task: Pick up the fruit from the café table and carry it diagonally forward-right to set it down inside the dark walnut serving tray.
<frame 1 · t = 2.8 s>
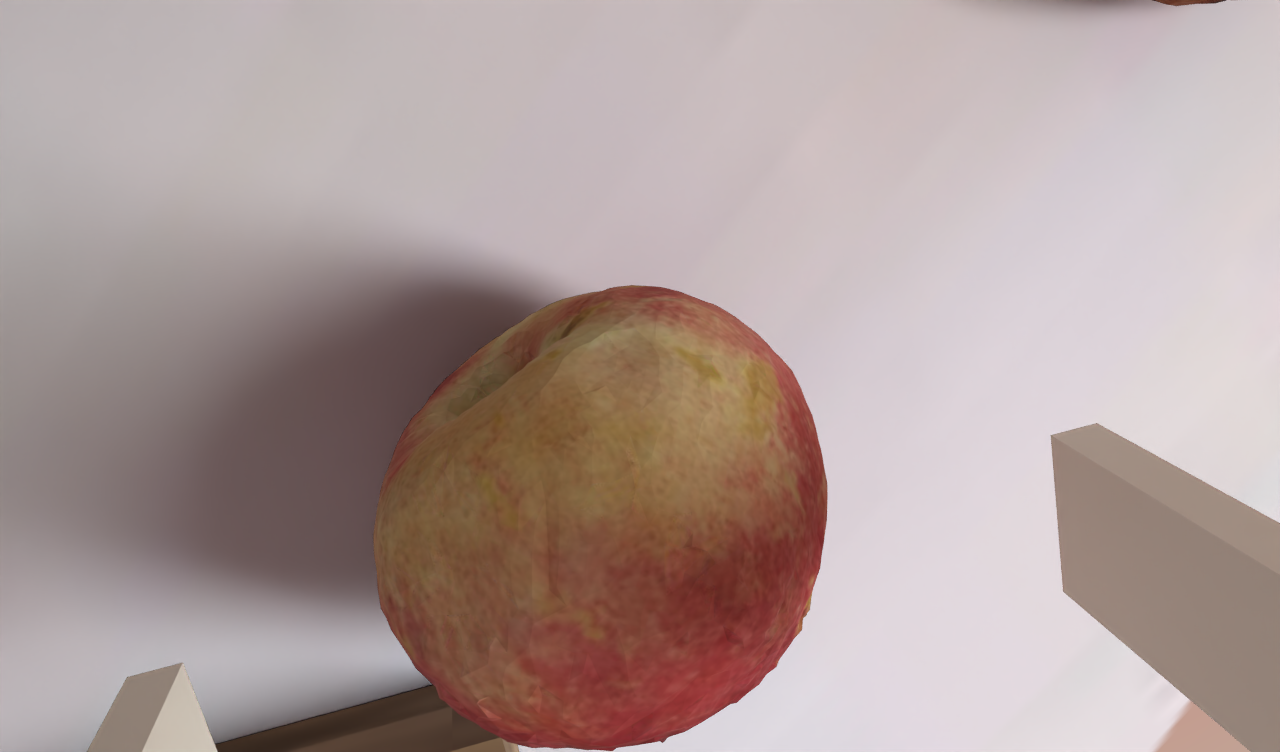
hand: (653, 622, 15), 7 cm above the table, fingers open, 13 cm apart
fruit: (577, 428, 22), on the table
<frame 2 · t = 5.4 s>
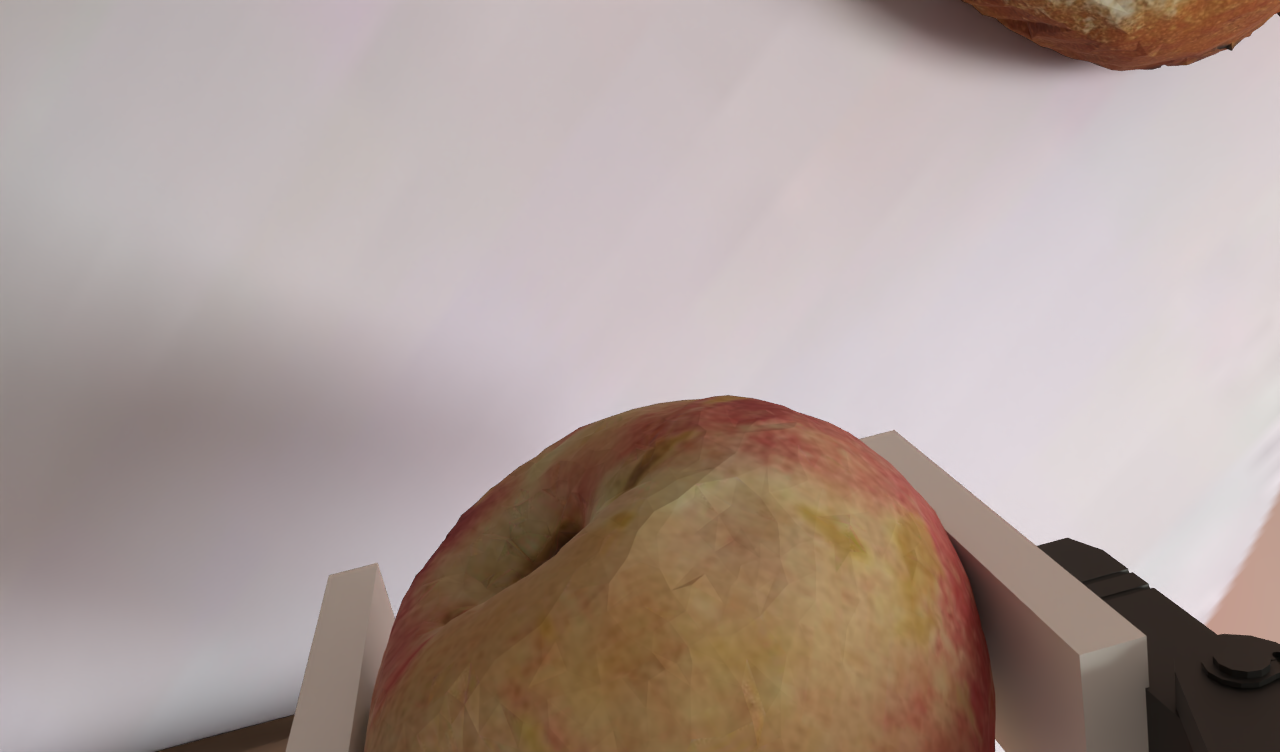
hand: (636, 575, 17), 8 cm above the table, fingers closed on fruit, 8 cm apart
fruit: (628, 557, 17), point 8 cm above the table, touching gripper
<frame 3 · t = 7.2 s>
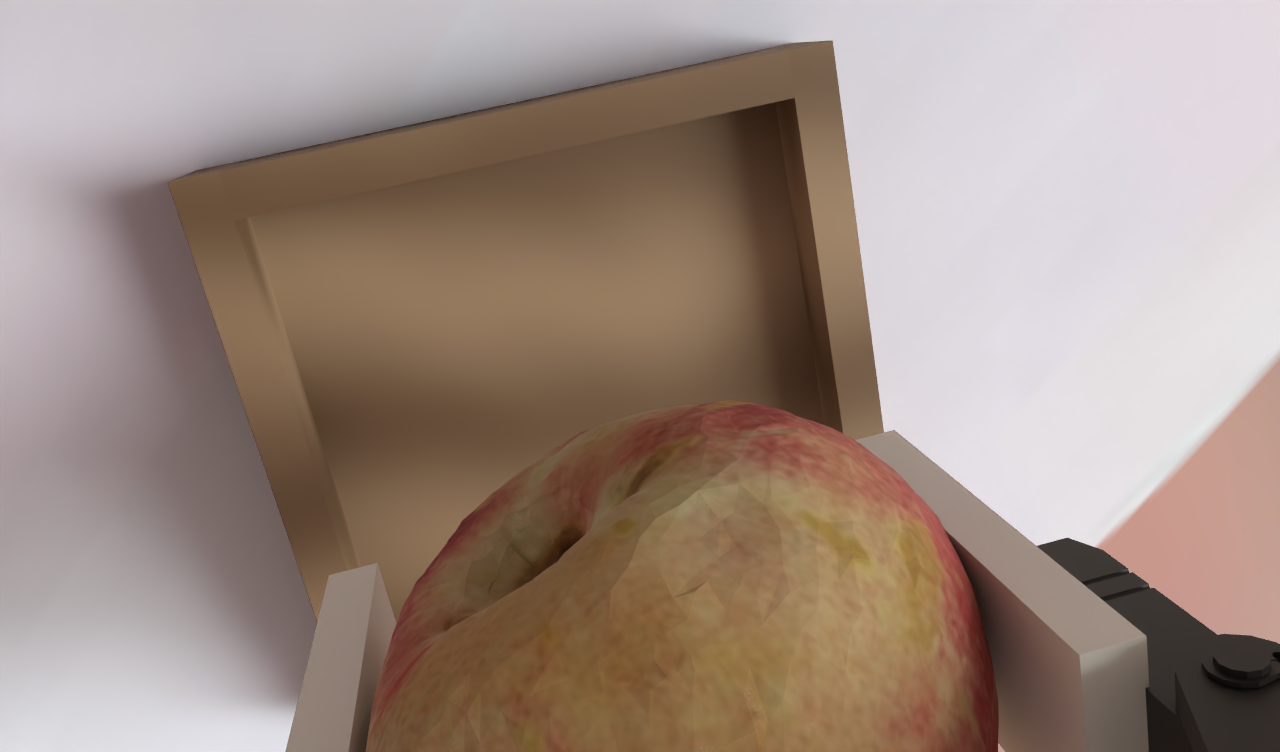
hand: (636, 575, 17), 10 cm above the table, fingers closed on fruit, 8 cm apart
fruit: (629, 561, 17), point 9 cm above the table, touching gripper
walnut tray: (570, 387, 26), on the table
when the fingers open (3 cm above the table, at t = 9.0 s): fruit drops 1 cm, resting on walnut tray.
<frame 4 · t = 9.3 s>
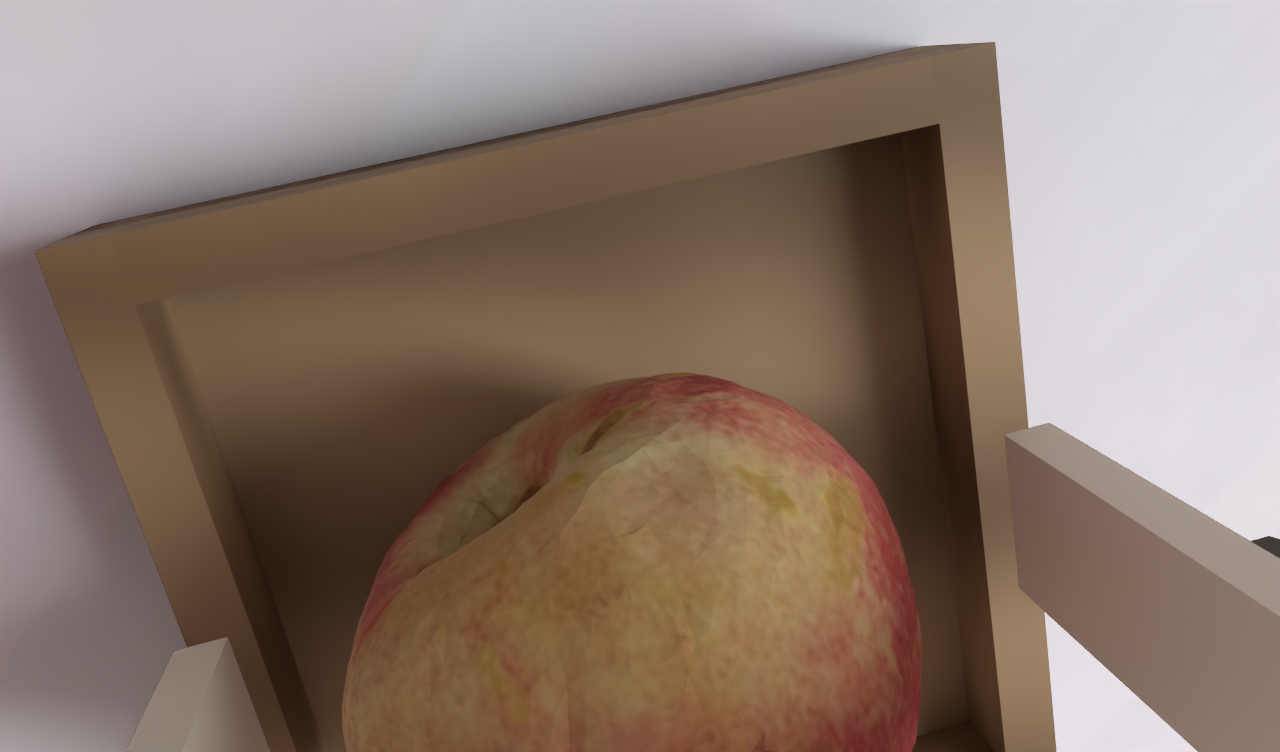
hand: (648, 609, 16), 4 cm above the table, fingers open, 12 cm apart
fruit: (599, 528, 19), point 1 cm above the table, touching walnut tray
walnut tray: (612, 509, 19), on the table
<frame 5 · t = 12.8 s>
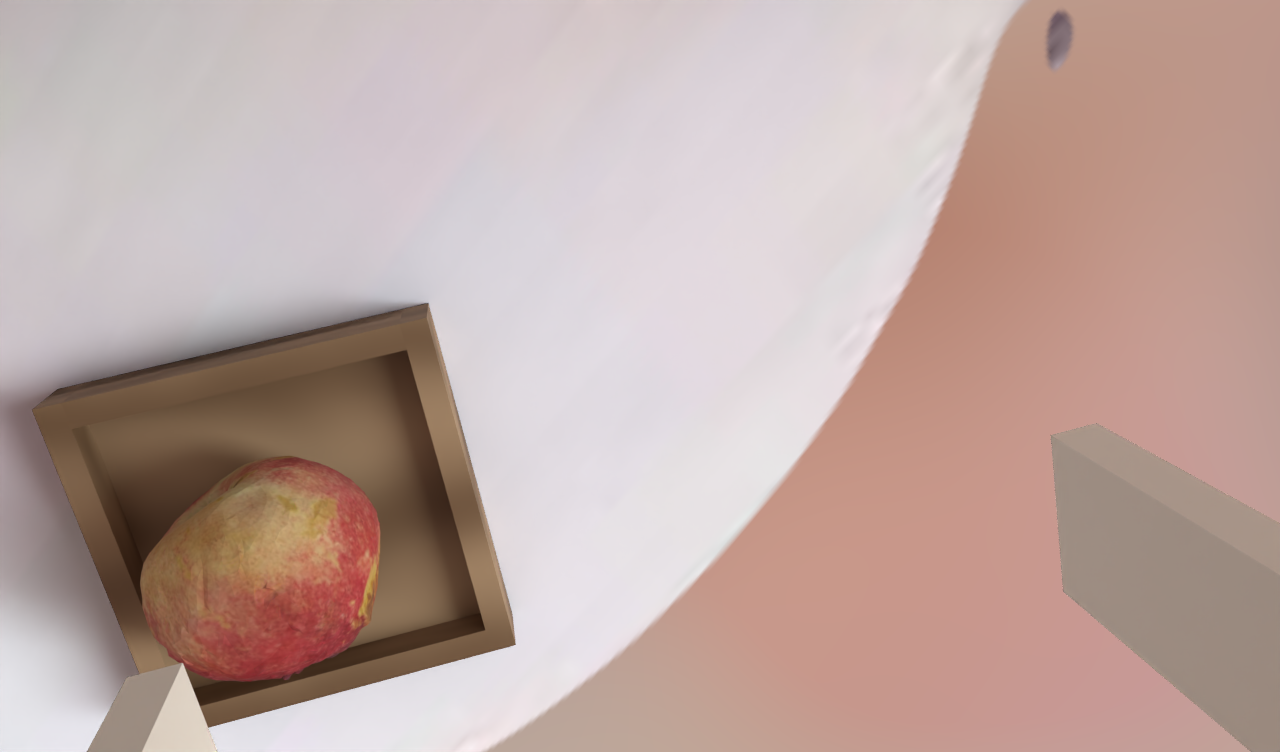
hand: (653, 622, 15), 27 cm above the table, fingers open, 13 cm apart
fruit: (288, 518, 41), point 1 cm above the table, touching walnut tray
walnut tray: (300, 509, 42), on the table
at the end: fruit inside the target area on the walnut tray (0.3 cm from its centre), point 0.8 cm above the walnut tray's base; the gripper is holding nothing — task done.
